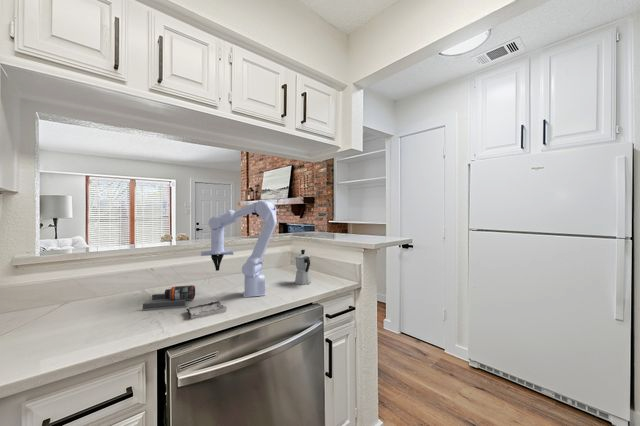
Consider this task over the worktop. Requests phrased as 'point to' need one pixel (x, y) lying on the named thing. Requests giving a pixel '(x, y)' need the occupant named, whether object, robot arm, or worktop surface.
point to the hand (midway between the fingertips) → (217, 270)
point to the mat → (164, 303)
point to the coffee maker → (302, 269)
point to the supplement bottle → (180, 293)
